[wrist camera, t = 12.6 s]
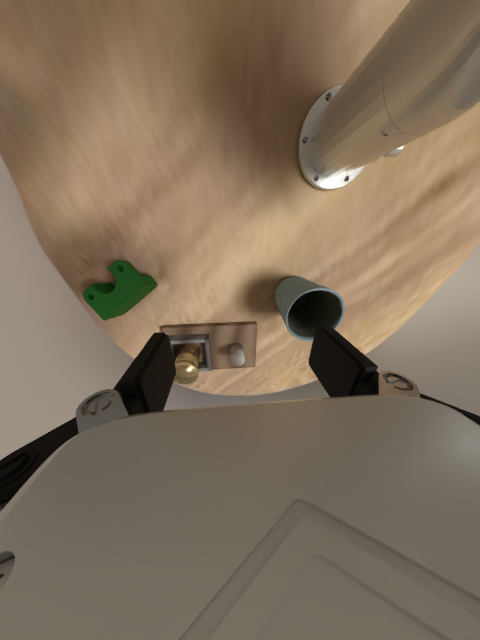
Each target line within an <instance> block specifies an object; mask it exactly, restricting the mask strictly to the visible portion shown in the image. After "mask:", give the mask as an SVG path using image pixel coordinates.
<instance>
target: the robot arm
mask: <svg viewBox="0 0 480 640" xmlns="http://www.w3.org/2000/svg"><path fill="white" fill-rule="evenodd" d="M326 100H327V101H326ZM478 102H480V0H410V1H409V3H408V4H407V5H406V6H405V8H404V9H403V10H402V12H401V13H400V14H399V15H398V17H397V18H396V19H395V20H394V22H393V23H392V24H391V25H390V27H389V28H388V29H387V30H386V32H385V33H384V34H383V35H382V37H381V38H380V39H379V40H378V42H377V43H376V44H375V45H374V47H373V48H372V49H371V51H370V52H369V53H368V54H367V56H366V57H365V58H364V59H363V61H362V62H361V63H360V64H359V66H358V67H357V68H356V69H355V71H354V72H353V73H352V74H351V76H350V77H349V78H348V79H347V81H346V82H345V83H344V84H339V85H336V86H334V87H332V88H330V89H329V90H327V91H326V92H324V93H323V94H322V95H321V96H320V97H319V98H318V99H317V101H316V102H315V103H314V105H313V106H312V107H311V109H310V111H309V112H308V114H307V116H306V118H305V120H304V122H303V125H302V128H301V131H300V135H299V142H298V159H299V165H300V168H301V171H302V173H303V175H304V177H305V179H306V180H307V181H308V182H309V183H310V184H311V185H312V186H314V187H315V188H317V189H320V190H325V191H330V190H335V189H338V188H341V187H343V186H345V185H347V184H348V183H350V182H351V181H352V180H353V179H354V178H355V177H357V176H358V175H359V173H360V172H361V171H362V169H363V168H364V166H365V165H366V164H368V163H370V162H372V161H374V160H376V159H378V158H380V157H382V156H384V157H396V156H398V155H399V154H400V152H401V151H402V149H403V146H404V145H406V144H408V143H410V142H412V141H414V140H416V139H418V138H420V137H422V136H424V135H426V134H428V133H430V132H432V131H434V130H436V129H437V128H439V127H441V126H443V125H445V124H447V123H449V122H451V121H453V120H454V119H456V118H458V117H459V116H461V115H462V114H464V113H465V112H467V111H468V110H470V109H471V108H472V107H474V106H475V105H476V104H477V103H478ZM303 141H304V143H303ZM314 178H315V181H314ZM344 180H345V181H344ZM309 365H310V367H311V369H312V370H313V372H314V373H315V375H316V376H317V378H318V379H319V381H320V382H321V384H322V385H323V387H324V389H325V390H326V392H327V393H328V395H329V396H330V398H316V399H303V400H289V401H275V402H264V403H249V404H237V405H225V406H213V407H200V408H188V409H177V410H167V411H163V409H164V407H165V404H166V401H167V398H168V395H169V392H170V389H171V386H172V384H173V381H174V378H175V375H176V367H175V362H174V358H173V353H172V348H171V344H170V339H169V336H168V335H166V334H165V333H154V334H153V335H152V336H151V338H150V339H149V341H148V342H147V343H146V345H145V346H144V348H143V349H142V350H141V352H140V353H139V355H138V356H137V357H136V358H135V360H134V361H133V362H132V364H131V365H130V367H129V368H128V369H127V371H126V372H125V374H124V375H123V376H122V378H121V379H120V381H119V382H118V383H117V385H116V386H115V388H114V389H106V390H102V391H99V392H96V393H94V394H93V395H91V396H89V397H88V398H86V399H85V400H84V401H83V402H82V403H81V404H80V405H79V406H78V408H77V410H76V417H75V418H73V419H72V420H70V421H68V422H66V423H64V424H63V425H61V426H59V427H57V428H55V429H54V430H52V431H50V432H48V433H47V434H45V435H43V436H41V437H39V438H38V439H36V440H34V441H32V442H30V443H29V444H27V445H25V446H23V447H22V448H20V449H18V450H16V451H14V452H13V453H11V454H9V455H8V456H6V457H5V458H3V459H2V460H0V640H480V416H477V415H475V414H472V413H470V412H467V411H465V410H462V409H459V408H457V407H454V406H452V405H449V404H446V403H444V402H441V401H439V400H436V399H434V398H431V397H428V396H425V395H423V394H420V393H419V389H418V387H417V385H416V384H415V383H414V382H413V381H412V380H410V379H409V378H407V377H405V376H403V375H401V374H399V373H396V372H392V371H381V372H380V373H378V372H377V371H376V370H377V367H378V366H377V365H375V364H374V363H373V362H372V361H371V360H369V359H368V358H367V357H366V356H365V355H364V354H363V353H361V352H360V351H359V350H358V349H357V348H355V347H354V346H353V345H352V344H351V343H350V342H348V341H347V340H346V339H345V338H344V337H343V336H341V335H340V334H339V333H338V332H337V331H336V330H334V329H333V328H332V327H331V326H329V325H321V326H319V327H318V328H316V330H315V335H314V339H313V344H312V348H311V353H310V358H309Z"/></svg>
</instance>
